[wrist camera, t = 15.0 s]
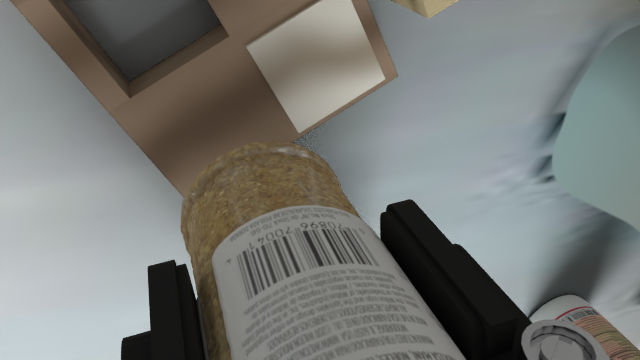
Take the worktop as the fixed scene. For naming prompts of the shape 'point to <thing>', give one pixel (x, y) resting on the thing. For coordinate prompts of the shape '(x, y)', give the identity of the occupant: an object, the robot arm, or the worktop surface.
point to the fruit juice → (588, 325)
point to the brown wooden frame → (233, 75)
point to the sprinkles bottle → (297, 267)
